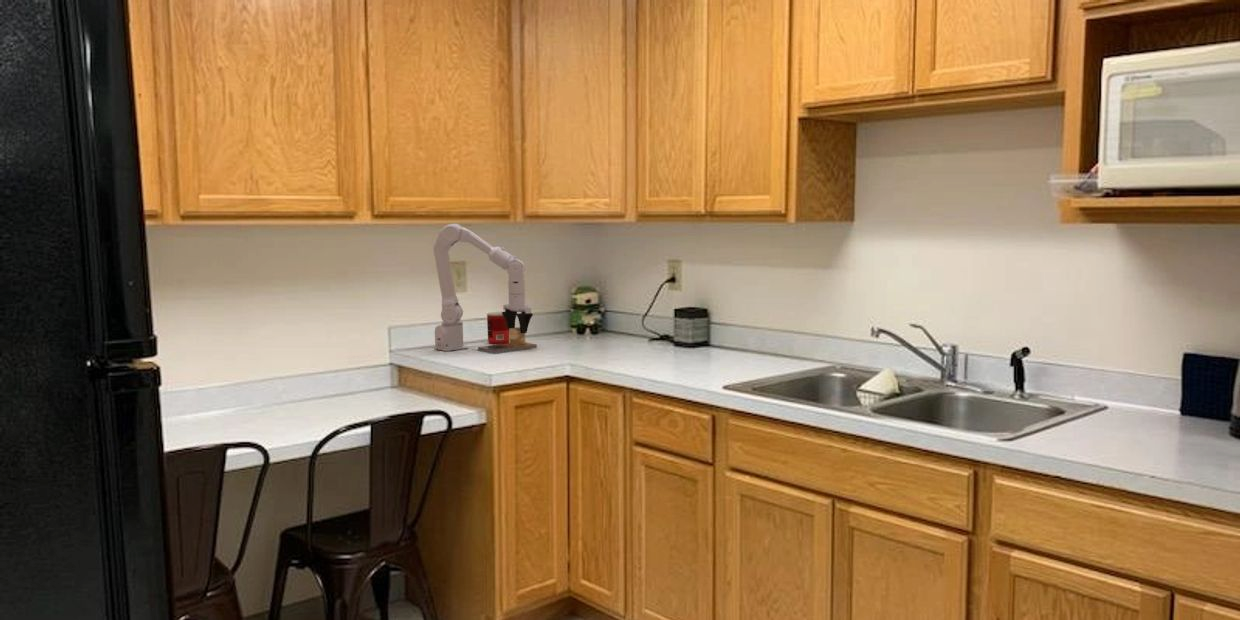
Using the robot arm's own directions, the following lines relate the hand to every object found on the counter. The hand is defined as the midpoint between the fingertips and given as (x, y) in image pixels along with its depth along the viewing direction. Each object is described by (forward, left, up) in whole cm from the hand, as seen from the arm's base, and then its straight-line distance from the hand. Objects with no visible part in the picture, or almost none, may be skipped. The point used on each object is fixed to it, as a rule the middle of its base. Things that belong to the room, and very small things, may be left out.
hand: (517, 332), depth 321 cm
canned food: (+2, +15, -6) cm, 16 cm away
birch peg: (0, 0, -6) cm, 6 cm away
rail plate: (-4, 0, -6) cm, 7 cm away
